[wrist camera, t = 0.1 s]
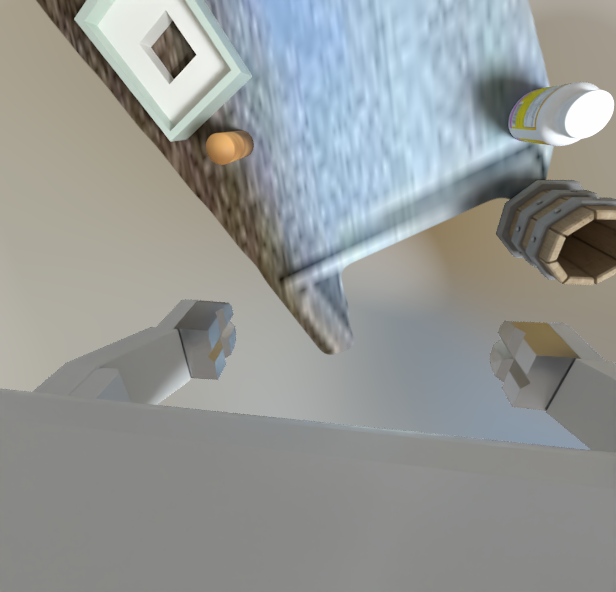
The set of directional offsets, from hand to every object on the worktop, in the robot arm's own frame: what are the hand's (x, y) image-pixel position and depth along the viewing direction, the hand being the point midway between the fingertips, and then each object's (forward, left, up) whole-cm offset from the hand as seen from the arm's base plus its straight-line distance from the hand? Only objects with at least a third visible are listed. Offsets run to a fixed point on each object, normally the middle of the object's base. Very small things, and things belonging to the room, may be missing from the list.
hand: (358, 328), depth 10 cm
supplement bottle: (-6, +25, -48) cm, 55 cm away
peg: (-2, -19, -48) cm, 52 cm away
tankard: (+9, +35, -48) cm, 60 cm away
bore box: (-14, -27, -48) cm, 57 cm away
